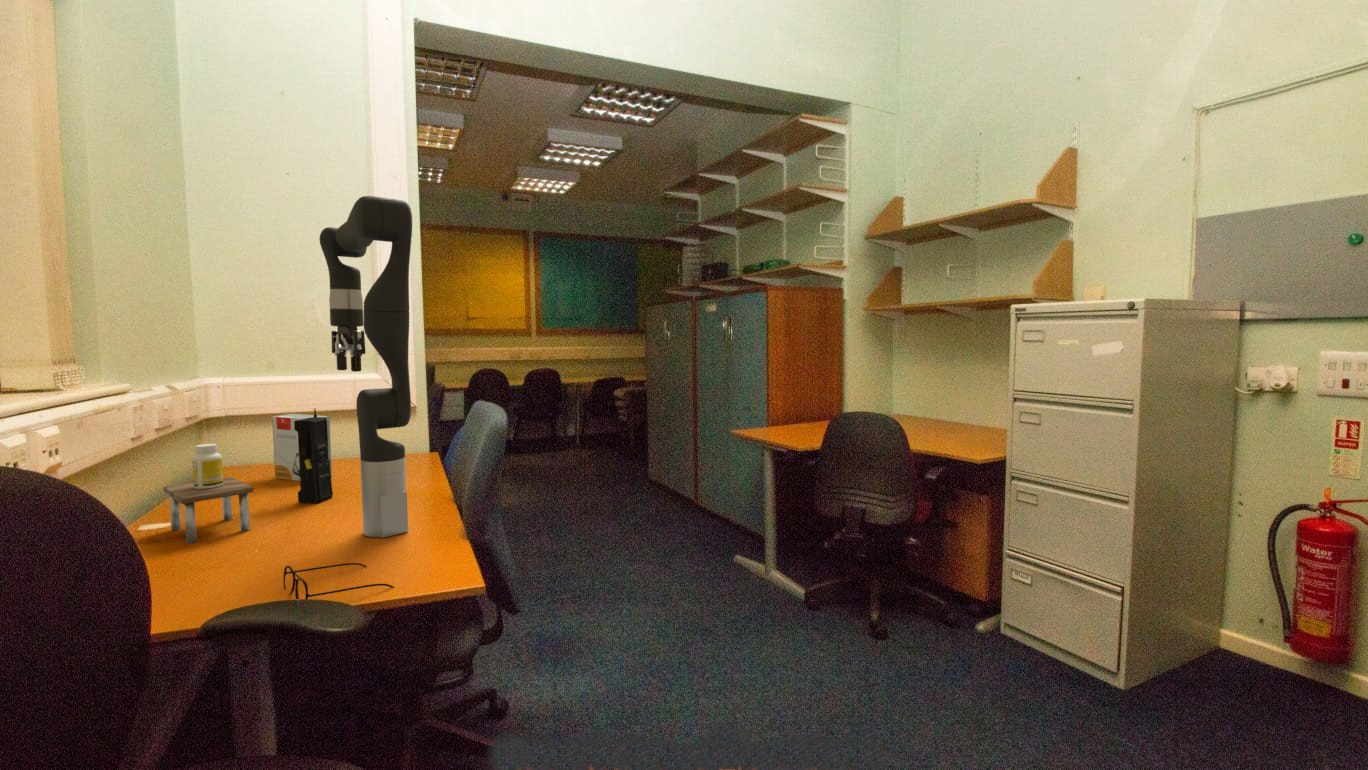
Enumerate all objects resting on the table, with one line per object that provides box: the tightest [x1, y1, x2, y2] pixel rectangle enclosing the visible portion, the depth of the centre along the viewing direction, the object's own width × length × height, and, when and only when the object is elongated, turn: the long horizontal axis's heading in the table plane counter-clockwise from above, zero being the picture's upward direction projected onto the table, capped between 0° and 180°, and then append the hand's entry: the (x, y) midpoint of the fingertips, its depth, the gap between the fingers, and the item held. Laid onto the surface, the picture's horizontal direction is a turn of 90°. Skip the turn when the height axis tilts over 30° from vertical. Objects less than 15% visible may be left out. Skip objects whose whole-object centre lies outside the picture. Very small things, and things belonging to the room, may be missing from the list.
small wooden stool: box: [163, 476, 254, 544], centre depth 143 cm, size 16×13×10 cm
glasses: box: [283, 562, 395, 601], centre depth 111 cm, size 14×15×5 cm
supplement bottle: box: [191, 443, 224, 489], centre depth 142 cm, size 5×5×10 cm
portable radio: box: [294, 409, 334, 504], centre depth 167 cm, size 8×6×25 cm
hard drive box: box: [271, 413, 333, 482], centre depth 193 cm, size 16×8×20 cm, turn 73°
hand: (349, 370), depth 159 cm, fingers open, 8 cm apart
